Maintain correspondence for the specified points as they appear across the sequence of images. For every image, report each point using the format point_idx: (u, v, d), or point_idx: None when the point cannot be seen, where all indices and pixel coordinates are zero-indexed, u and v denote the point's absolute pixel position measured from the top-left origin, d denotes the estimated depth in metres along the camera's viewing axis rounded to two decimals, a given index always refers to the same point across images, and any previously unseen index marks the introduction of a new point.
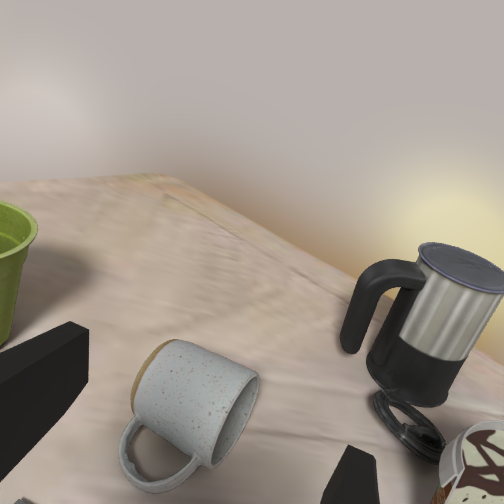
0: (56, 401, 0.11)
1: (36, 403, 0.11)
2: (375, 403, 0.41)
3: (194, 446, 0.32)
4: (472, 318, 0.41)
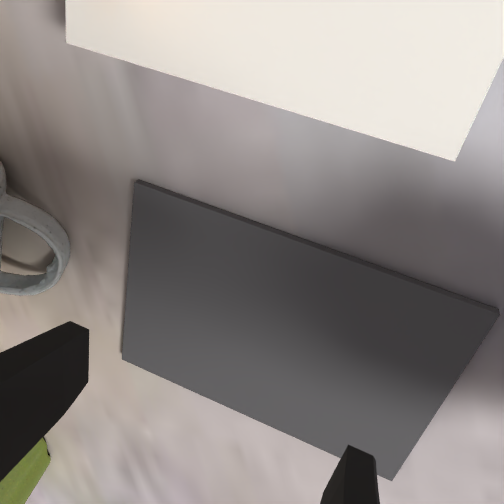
0: (56, 401, 0.11)
1: (36, 403, 0.11)
2: None
3: None
4: None
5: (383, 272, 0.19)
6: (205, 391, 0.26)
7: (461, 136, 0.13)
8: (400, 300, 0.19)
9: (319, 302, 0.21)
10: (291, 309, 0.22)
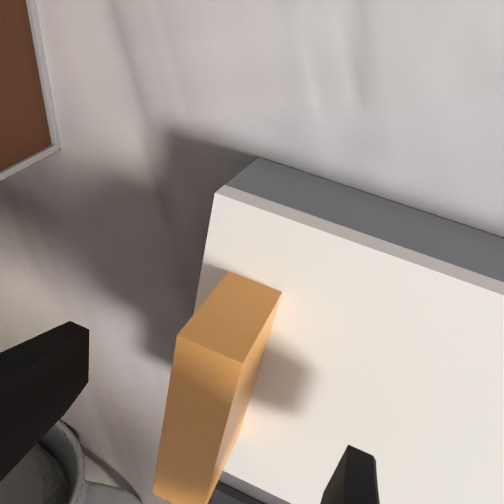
0: (56, 401, 0.11)
1: (36, 403, 0.11)
2: None
3: None
4: None
5: None
6: None
7: None
8: None
9: None
10: None
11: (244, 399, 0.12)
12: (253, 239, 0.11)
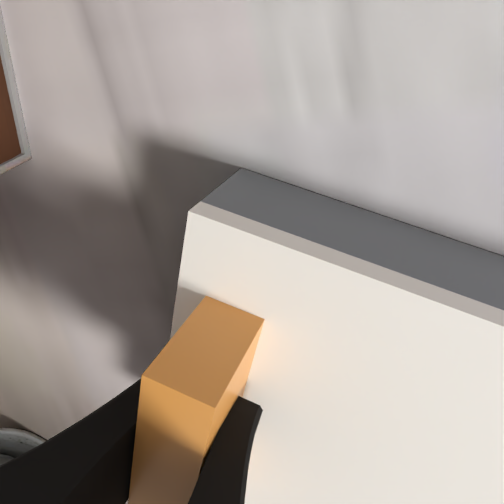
0: None
1: None
2: None
3: None
4: None
5: None
6: None
7: None
8: None
9: None
10: None
11: None
12: (232, 262, 0.10)
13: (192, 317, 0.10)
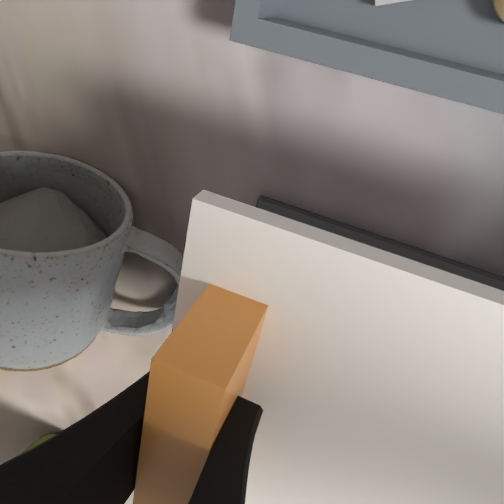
0: None
1: (138, 453, 0.10)
2: None
3: (113, 261, 0.19)
4: None
5: None
6: None
7: None
8: None
9: None
10: None
11: None
12: (236, 248, 0.10)
13: (197, 304, 0.10)
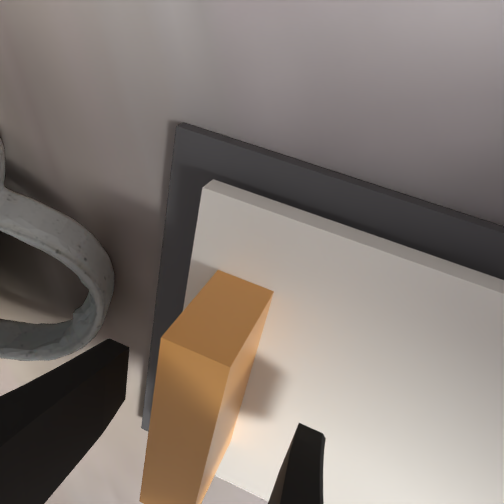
0: (96, 421, 0.11)
1: (79, 424, 0.10)
2: None
3: None
4: None
5: None
6: None
7: None
8: None
9: None
10: None
11: (235, 403, 0.12)
12: (243, 236, 0.11)
13: (206, 288, 0.10)
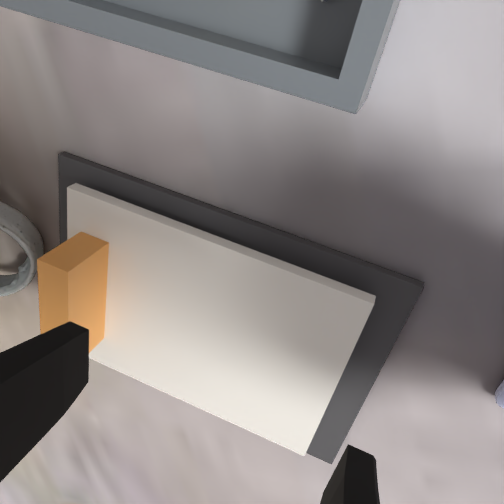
0: (56, 401, 0.11)
1: (36, 403, 0.11)
2: None
3: None
4: None
5: (308, 245, 0.19)
6: None
7: (305, 446, 0.22)
8: (326, 273, 0.19)
9: None
10: None
11: (91, 304, 0.21)
12: (90, 212, 0.20)
13: (69, 239, 0.20)
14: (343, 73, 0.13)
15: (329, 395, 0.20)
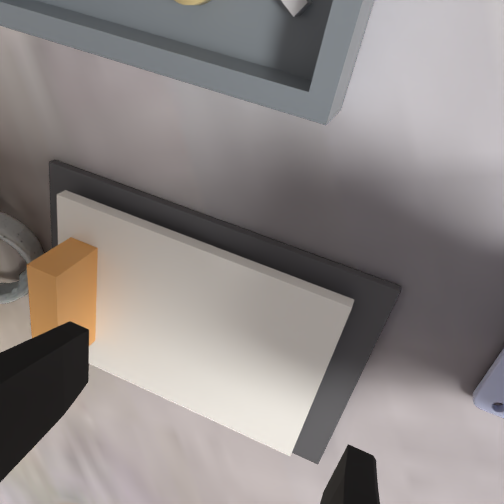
0: (56, 401, 0.11)
1: (36, 403, 0.11)
2: None
3: None
4: None
5: (289, 250, 0.19)
6: None
7: (291, 446, 0.23)
8: (307, 278, 0.19)
9: None
10: None
11: (81, 308, 0.22)
12: (79, 219, 0.21)
13: (59, 245, 0.21)
14: (313, 86, 0.14)
15: (312, 397, 0.21)
